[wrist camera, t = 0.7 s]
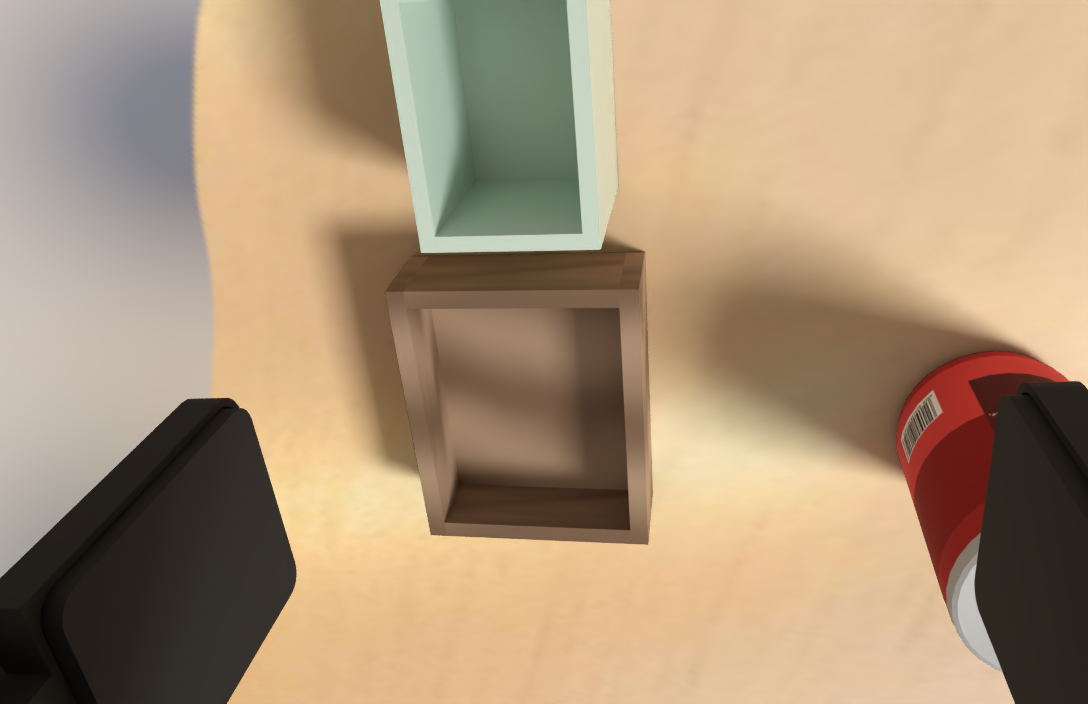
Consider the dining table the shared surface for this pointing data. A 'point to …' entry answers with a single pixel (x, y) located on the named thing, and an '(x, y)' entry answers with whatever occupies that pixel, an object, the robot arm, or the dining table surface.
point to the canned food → (959, 469)
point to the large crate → (528, 393)
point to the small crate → (506, 121)
